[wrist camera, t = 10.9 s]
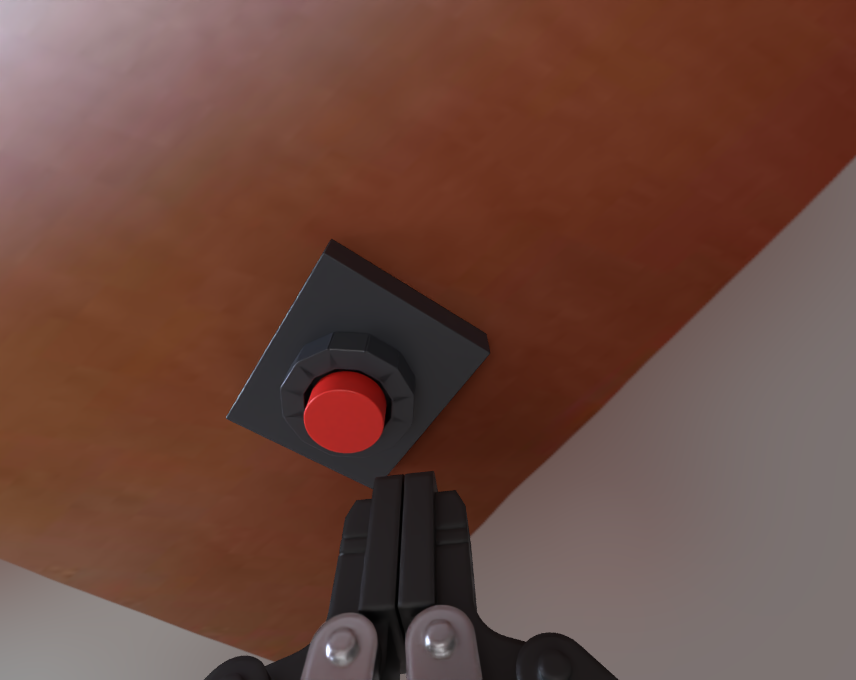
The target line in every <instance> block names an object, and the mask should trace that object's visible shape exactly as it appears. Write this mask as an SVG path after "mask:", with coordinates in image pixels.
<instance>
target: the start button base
mask: <svg viewBox="0 0 856 680" xmlns="http://www.w3.org/2000/svg"><path fill="white" fill-rule="evenodd" d="M489 354H490V350H489V345H488V339H487V334H486V333H484V332H482V331H481V330H479V329H478V328H476V327H474V326H473V325H471V324H469V323H468V322H466V321H465V320H463V319H461V318H460V317H458V316H456V315H455V314H453V313H451V312H450V311H448V310H447V309H445V308H443V307H442V306H440V305H438V304H437V303H435V302H434V301H432V300H430V299H429V298H427V297H425V296H424V295H422V294H421V293H419V292H417V291H416V290H414V289H412V288H411V287H409V286H408V285H406V284H404V283H403V282H401V281H399V280H398V279H396V278H395V277H393V276H391V275H390V274H388V273H386V272H385V271H383V270H381V269H380V268H378V267H377V266H375V265H373V264H372V263H370V262H368V261H367V260H365V259H364V258H362V257H360V256H359V255H357V254H355V253H354V252H352V251H351V250H349V249H347V248H346V247H344V246H342V245H341V244H339V243H338V242H336V241H334V240H333V239H331V240H330V242H329V243H328V245H327V247H326V249H325V250H324V252H323V254H322V255H321V257H320V259H319V260H318V262H317V264H316V265H315V267H314V269H313V271H312V272H311V274H310V276H309V277H308V279H307V281H306V282H305V284H304V286H303V288H302V289H301V291H300V293H299V294H298V296H297V298H296V299H295V301H294V303H293V304H292V306H291V308H290V310H289V311H288V313H287V315H286V316H285V318H284V320H283V321H282V323H281V325H280V327H279V328H278V330H277V332H276V333H275V335H274V337H273V338H272V340H271V342H270V343H269V345H268V347H267V349H266V350H265V352H264V354H263V355H262V357H261V359H260V360H259V362H258V364H257V366H256V367H255V369H254V371H253V372H252V374H251V376H250V377H249V379H248V381H247V383H246V384H245V386H244V388H243V389H242V391H241V393H240V394H239V396H238V398H237V399H236V401H235V403H234V405H233V406H232V408H231V410H230V411H229V413H228V415H227V417H226V419H228V420H230V421H232V422H234V423H236V424H238V425H240V426H242V427H245V428H247V429H249V430H251V431H253V432H255V433H257V434H259V435H261V436H263V437H265V438H267V439H270V440H272V441H274V442H276V443H278V444H280V445H282V446H284V447H286V448H288V449H290V450H292V451H294V452H297V453H299V454H301V455H303V456H305V457H307V458H309V459H311V460H313V461H315V462H317V463H319V464H322V465H324V466H326V467H328V468H330V469H332V470H334V471H336V472H338V473H340V474H342V475H344V476H347V477H349V478H351V479H353V480H355V481H357V482H359V483H361V484H363V485H365V486H367V487H369V488H371V489H373V487H374V480H375V478H376V477H382V476H387V475H388V474H389V473H390V471H391V470H392V469H393V468H394V467H395V465H396V464H397V463H398V462H399V461H400V460H401V458H402V457H403V456H404V455H405V454H406V452H407V451H408V450H409V449H410V448H411V446H412V445H413V444H414V443H415V442H416V441H417V439H418V438H419V437H420V436H421V435H422V433H423V432H424V431H425V430H426V429H427V427H428V426H429V425H430V424H431V423H432V422H433V420H434V419H435V418H436V417H437V416H438V414H439V413H440V412H441V411H442V410H443V409H444V407H445V406H446V405H447V404H448V403H449V401H450V400H451V399H452V398H453V397H454V395H455V394H456V393H457V392H458V391H459V390H460V388H461V387H462V386H463V385H464V384H465V382H466V381H467V380H468V379H469V378H470V376H471V375H472V374H473V373H474V372H475V371H476V369H477V368H478V367H479V366H480V365H481V363H482V362H483V361H484V360H485V359H486V357H487V356H488V355H489ZM340 371H352V372H357V373H360V374H363V375H365V376H367V377H369V378H371V379H372V380H373V381H375V382H376V383H377V384H378V385H379V387H380V388H381V389H382V391H383V393H384V395H385V398H386V405H387V406H386V414H385V421H384V428H383V432H382V434H381V436H380V438H379V439H378V440H377V441H376V443H375V444H373V445H372V446H371V447H369V448H367V449H365V450H363V451H360V452H355V453H339V452H334V451H331V450H328V449H326V448H324V447H322V446H320V445H319V444H318V443H316V442H315V441H314V440H313V439H312V438H311V437H310V435H309V434H308V432H307V430H306V428H305V424H304V411H305V409H306V406H307V403H308V400H309V398H310V395H311V392H312V390H313V388H314V386H315V385H316V383H317V382H318V381H319V380H320V379H322V378H323V377H325V376H327V375H329V374H331V373H334V372H340Z"/></svg>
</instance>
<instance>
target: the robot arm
mask: <svg viewBox="0 0 856 680" xmlns="http://www.w3.org/2000/svg"><path fill="white" fill-rule="evenodd" d="M339 552H340V555H339V556H338V562H337V568H336V573H335V579H334V584H333V590H332V596H331V601H330V607H329V612H328V616H327V620H326V622H325V623H324V624H323V625H322V626H321V627H320V628H319V629H318V630H317V632H316V633H315V635H314V637H313V639H312V641H311V643H310V644H309V645H307V646H306V647H305V648H303V649H302V650H300V651H298V652H296V653H294V654H292V655H290V656H288V657H285V658H283V659H281V660H278V661H276V662H274V663H271V664H269V665H267V666H264V665H263V663H262V662H261V661H260V660H258V659H257V658H254V657H251V656H239V657H235V658H232V659H229V660H227V661H226V662H224V663H222V664H221V665H219V666H218V667H217V668H216V669H214V670H213V671H212V672H211V673H210V674H209V675H208V676H207V677H206V678H205V679H204V680H400V674H405V673H406V678H407V680H618V679H617V678H616V677H615V676H614V675H613V674H612V673H610V672H609V671H608V670H607V669H606V668H605V667H604V666H603V665H602V664H600V663H599V662H598V661H597V660H596V659H595V658H594V657H593V656H592V655H590V654H589V653H588V652H587V651H586V650H585V649H584V648H583V647H582V646H580V645H579V644H578V643H577V642H575V641H574V640H573V639H571V638H569V637H567V636H565V635H562V634H558V633H541V634H538V635H536V636H534V637H532V638H530V639H529V640H528V641H527V642H525V641H521V640H517V639H513V638H509V637H506V636H503V635H501V634H498V633H497V632H494V631H493V630H491V629H490V628H489V627H487V625H486V624H485V623H484V622H483V621H482V620H481V618H480V617H479V615H478V613H477V606H476V595H475V584H474V573H473V562H472V551H471V542H470V535H469V528H468V520H467V513H466V506H465V504H464V503H463V501H462V499H461V498H460V496H459V495H458V493H457V492H456V490H453V491H443V492H438V491H437V485H436V479H435V474H434V471H430V472H420V473H410V474H405V475H404V474H402V475H392V476H382V477H376V478H375V480H374V487H373V495H372V499H365V500H356V502H355V503H354V505H353V506H352V508H351V510H350V511H349V513H348V514H347V516H346V517H345V523H344V528H343V534H342V540H341V545H340V551H339Z"/></svg>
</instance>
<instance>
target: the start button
mask: <svg viewBox="0 0 856 680" xmlns="http://www.w3.org/2000/svg"><path fill="white" fill-rule="evenodd" d="M386 406H387V405H386V398H385V395H384V393H383V391H382V389H381V388H380V387H379V385H378V384H377V383H376V382H375V381H373V380H372V379H371V378H369V377H367V376H365V375H363V374H360V373H357V372H352V371H340V372H334V373H331V374H329V375H327V376H325V377H323V378H322V379H320V380H319V381H318V382H317V383H316V385H315V386H314V388H313V390H312V392H311V395H310V398H309V400H308V403H307V406H306V409H305V411H304V424H305V428H306V430H307V432H308V434H309V435H310V437H311V438H312V439H313V440H314V441H315V442H316V443H318V444H319V445H320V446H322V447H324V448H326V449H328V450H331V451H334V452H339V453H355V452H360V451H363V450H365V449H367V448H369V447H371V446H372V445H373V444H375V443H376V441H377V440H378V439H379V438H380V436H381V434H382V432H383V428H384V421H385V414H386Z"/></svg>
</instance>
